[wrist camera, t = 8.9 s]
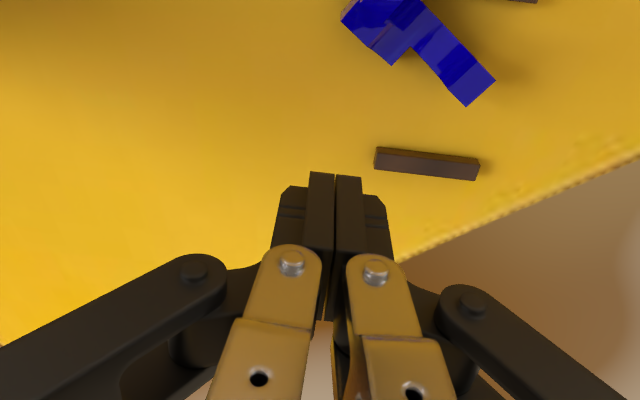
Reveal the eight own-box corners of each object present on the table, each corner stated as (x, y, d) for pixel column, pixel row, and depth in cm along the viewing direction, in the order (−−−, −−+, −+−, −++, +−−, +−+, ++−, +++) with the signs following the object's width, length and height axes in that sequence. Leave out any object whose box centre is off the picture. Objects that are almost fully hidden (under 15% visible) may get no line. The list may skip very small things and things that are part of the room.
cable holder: (340, 12, 26) (339, 26, 22) (384, -39, 24) (389, -32, 21) (433, 101, 28) (444, 126, 25) (477, 60, 27) (496, 80, 23)
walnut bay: (373, 162, 31) (373, 169, 30) (412, -41, 24) (415, -40, 23) (471, 174, 31) (475, 181, 30) (539, -25, 24) (546, -23, 23)
